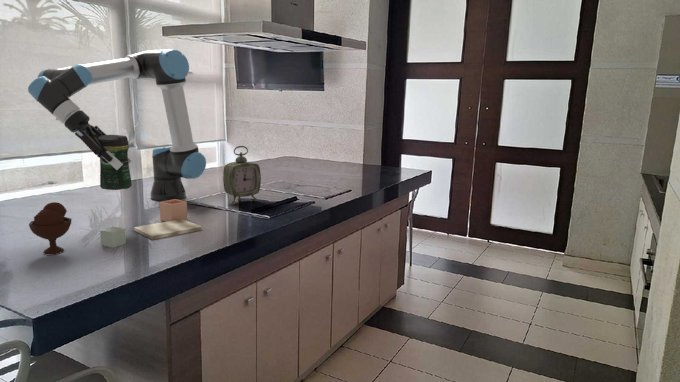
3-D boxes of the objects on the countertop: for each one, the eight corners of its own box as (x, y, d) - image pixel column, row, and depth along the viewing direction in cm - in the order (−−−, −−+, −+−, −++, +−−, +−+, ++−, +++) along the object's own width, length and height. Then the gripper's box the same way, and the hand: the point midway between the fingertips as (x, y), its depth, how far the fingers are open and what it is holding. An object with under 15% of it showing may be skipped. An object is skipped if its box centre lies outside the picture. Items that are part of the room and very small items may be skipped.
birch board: (182, 221, 183) (182, 218, 182) (201, 229, 173) (201, 226, 173) (134, 230, 170) (134, 227, 170) (151, 239, 160) (151, 236, 160)
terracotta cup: (176, 216, 190) (175, 199, 189) (187, 219, 186) (186, 201, 185) (160, 220, 185) (159, 202, 183) (171, 223, 181) (170, 205, 179)
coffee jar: (135, 187, 173) (132, 134, 169) (121, 191, 165) (118, 136, 161) (111, 185, 175) (107, 133, 171) (96, 189, 167) (92, 135, 163)
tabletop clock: (232, 206, 208) (230, 147, 203) (221, 202, 215) (220, 145, 210) (261, 201, 218) (260, 145, 213) (250, 198, 225) (249, 143, 220)
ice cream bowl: (43, 246, 151) (38, 199, 148) (80, 246, 152) (76, 199, 149) (24, 257, 141) (18, 207, 138) (64, 257, 142) (60, 207, 139)
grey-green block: (114, 241, 158) (113, 226, 157) (126, 243, 156) (124, 228, 155) (101, 245, 154) (100, 230, 153) (112, 248, 152) (111, 232, 151)
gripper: (78, 122, 175) (128, 167, 179) (48, 127, 154) (105, 178, 158) (93, 108, 174) (142, 153, 178) (64, 110, 153) (121, 162, 158)
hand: (124, 165), depth 168 cm, fingers closed on coffee jar, 8 cm apart
